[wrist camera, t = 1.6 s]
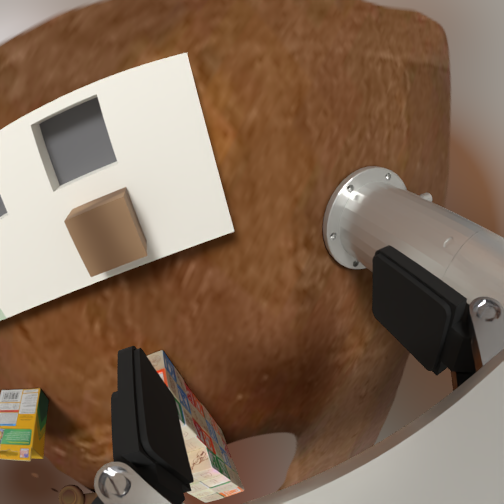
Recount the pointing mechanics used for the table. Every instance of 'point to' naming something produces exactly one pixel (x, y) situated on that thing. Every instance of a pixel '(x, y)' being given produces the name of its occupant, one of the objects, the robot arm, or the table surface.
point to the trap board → (105, 177)
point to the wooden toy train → (75, 496)
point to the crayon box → (22, 424)
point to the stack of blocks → (200, 438)
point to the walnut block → (107, 232)
